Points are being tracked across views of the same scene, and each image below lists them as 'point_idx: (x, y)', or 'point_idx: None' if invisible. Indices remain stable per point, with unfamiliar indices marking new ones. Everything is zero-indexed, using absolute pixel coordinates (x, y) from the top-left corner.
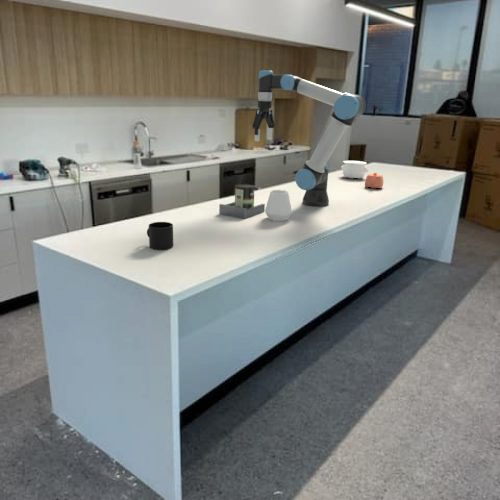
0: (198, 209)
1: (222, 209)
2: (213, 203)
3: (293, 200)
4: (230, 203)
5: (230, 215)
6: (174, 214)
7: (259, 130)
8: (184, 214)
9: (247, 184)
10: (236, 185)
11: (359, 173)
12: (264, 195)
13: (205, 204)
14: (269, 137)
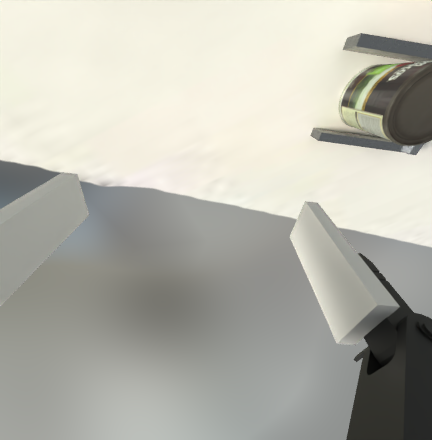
0: (356, 204)
1: None
2: (291, 204)
3: (134, 7)
4: (369, 144)
5: None
6: (407, 219)
7: (374, 285)
8: (406, 206)
9: (392, 112)
10: (421, 139)
11: None
12: (139, 141)
13: None
14: (69, 203)
